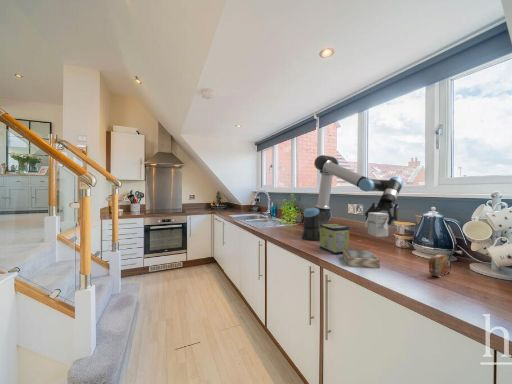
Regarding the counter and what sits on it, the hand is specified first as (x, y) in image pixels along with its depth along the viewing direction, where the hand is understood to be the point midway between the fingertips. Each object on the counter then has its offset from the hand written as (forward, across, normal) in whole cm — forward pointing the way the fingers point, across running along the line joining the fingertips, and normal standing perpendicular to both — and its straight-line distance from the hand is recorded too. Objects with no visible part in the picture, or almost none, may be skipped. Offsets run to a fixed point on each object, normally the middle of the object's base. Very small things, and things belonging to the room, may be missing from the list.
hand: (375, 227), depth 114 cm
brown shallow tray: (+22, 0, -1) cm, 22 cm away
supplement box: (+1, 0, -6) cm, 6 cm away
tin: (+13, -28, -11) cm, 33 cm away
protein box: (+18, +21, -6) cm, 28 cm away
